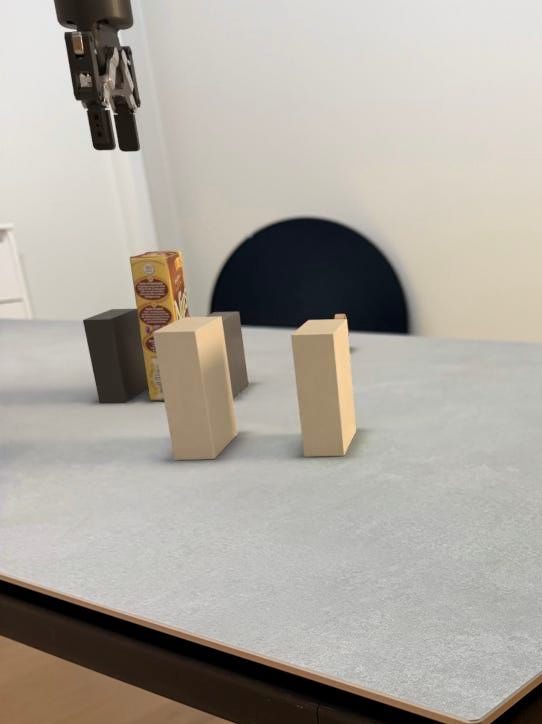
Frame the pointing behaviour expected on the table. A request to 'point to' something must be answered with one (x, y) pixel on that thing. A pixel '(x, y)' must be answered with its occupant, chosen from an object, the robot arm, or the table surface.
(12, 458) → the table surface
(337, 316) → the perforated watch strap
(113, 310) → the grey rectangular blocks
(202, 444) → the beige blocks
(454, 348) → the table surface
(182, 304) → the candy box
